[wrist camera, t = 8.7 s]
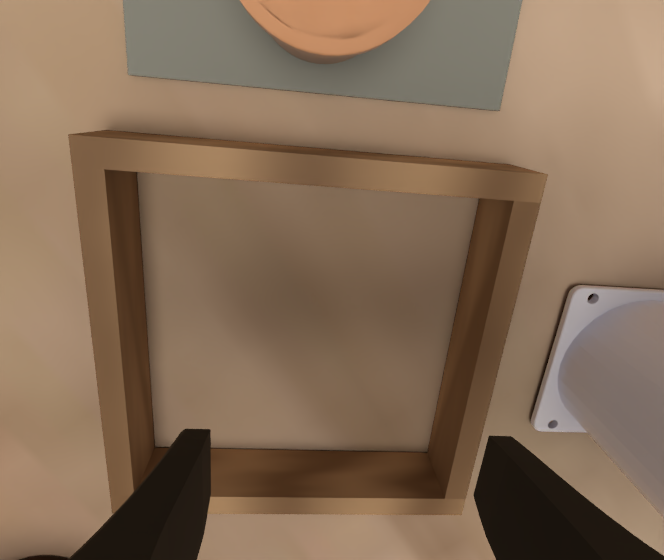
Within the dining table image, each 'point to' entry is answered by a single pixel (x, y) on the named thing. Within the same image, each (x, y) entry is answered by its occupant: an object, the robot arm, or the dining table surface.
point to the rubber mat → (339, 78)
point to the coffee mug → (45, 558)
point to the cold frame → (299, 465)
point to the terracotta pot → (332, 25)
